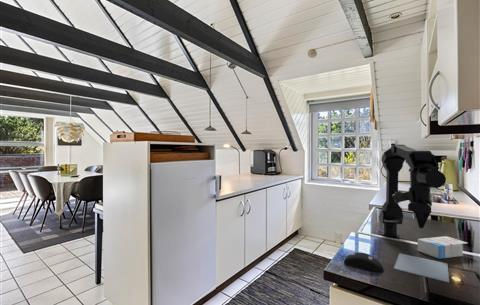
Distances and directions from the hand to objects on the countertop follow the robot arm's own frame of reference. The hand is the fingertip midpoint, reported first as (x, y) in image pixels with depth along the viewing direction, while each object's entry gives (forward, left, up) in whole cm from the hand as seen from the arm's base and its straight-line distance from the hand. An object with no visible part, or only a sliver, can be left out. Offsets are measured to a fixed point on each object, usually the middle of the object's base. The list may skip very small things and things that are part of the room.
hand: (421, 227), depth 85 cm
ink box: (-9, +1, -10) cm, 13 cm away
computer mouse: (+17, -16, -13) cm, 26 cm away
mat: (+5, 0, -12) cm, 13 cm away
